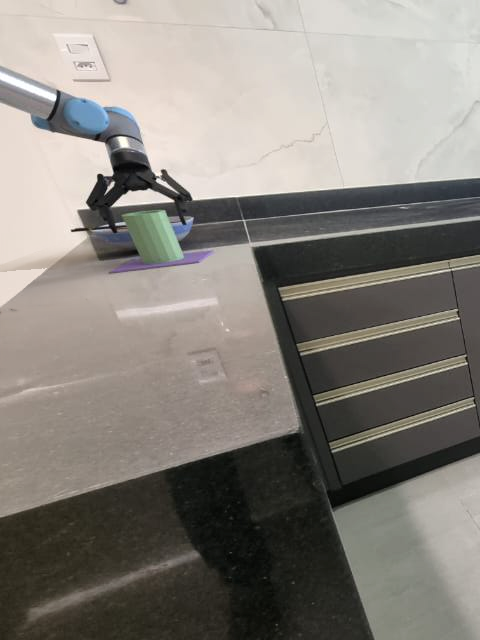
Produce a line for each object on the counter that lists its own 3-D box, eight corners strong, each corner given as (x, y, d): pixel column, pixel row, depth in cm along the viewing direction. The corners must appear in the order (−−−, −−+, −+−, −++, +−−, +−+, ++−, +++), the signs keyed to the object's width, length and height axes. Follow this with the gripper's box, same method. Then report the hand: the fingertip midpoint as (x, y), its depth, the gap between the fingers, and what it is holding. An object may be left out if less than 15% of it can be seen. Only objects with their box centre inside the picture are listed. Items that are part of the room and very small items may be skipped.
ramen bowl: (219, 237, 166) (209, 210, 163) (188, 252, 146) (176, 222, 143) (123, 246, 159) (111, 218, 156) (77, 263, 140) (62, 232, 136)
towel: (109, 273, 127) (108, 271, 127) (131, 261, 139) (131, 259, 138) (199, 262, 133) (198, 261, 133) (213, 251, 145) (213, 250, 145)
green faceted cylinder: (138, 266, 131) (115, 217, 126) (150, 259, 138) (129, 212, 133) (178, 261, 134) (158, 213, 129) (188, 254, 141) (169, 208, 136)
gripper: (193, 166, 147) (214, 227, 142) (71, 175, 134) (89, 242, 129) (185, 146, 141) (206, 209, 136) (55, 153, 128) (74, 223, 123)
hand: (149, 225), depth 133 cm, fingers open, 13 cm apart
